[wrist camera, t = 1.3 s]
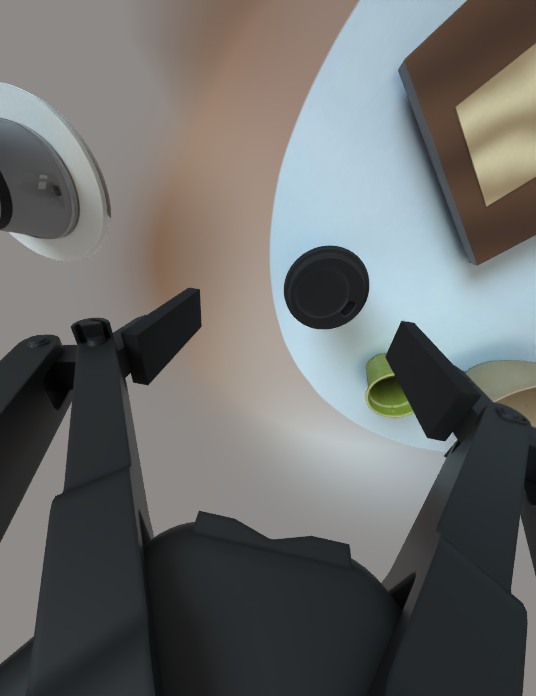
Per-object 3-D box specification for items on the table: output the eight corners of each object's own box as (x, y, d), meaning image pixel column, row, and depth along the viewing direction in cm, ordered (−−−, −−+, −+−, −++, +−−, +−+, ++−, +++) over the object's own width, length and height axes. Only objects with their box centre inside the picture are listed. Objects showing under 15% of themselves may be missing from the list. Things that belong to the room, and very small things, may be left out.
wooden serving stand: (391, 79, 26) (405, 58, 23) (581, -99, 20) (642, -167, 16) (460, 260, 34) (478, 265, 31) (612, 177, 28) (657, 172, 24)
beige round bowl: (534, 317, 37) (623, 359, 26) (555, 393, 43) (634, 452, 32) (415, 365, 44) (447, 413, 34) (447, 424, 50) (483, 480, 40)
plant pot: (357, 386, 48) (365, 418, 41) (356, 348, 44) (366, 376, 37) (406, 383, 46) (425, 416, 39) (411, 343, 42) (433, 371, 34)
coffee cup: (345, 296, 39) (362, 338, 27) (289, 293, 41) (280, 332, 28) (356, 235, 35) (384, 249, 22) (292, 233, 36) (284, 246, 23)
